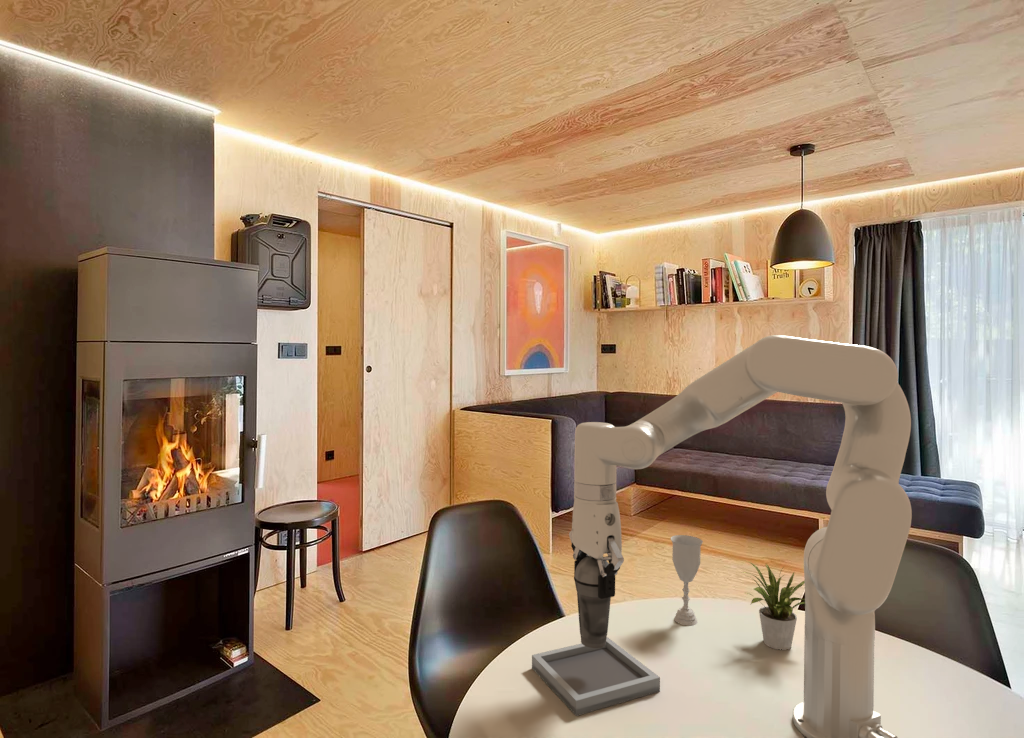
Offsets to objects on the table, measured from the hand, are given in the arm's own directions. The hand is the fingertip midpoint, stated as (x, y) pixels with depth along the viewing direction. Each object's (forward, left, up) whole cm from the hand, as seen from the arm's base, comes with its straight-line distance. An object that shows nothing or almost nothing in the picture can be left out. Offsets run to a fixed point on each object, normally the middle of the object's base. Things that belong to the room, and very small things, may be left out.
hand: (594, 588), depth 104 cm
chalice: (+12, -32, -17) cm, 38 cm away
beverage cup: (0, 0, -10) cm, 10 cm away
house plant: (-3, -41, -17) cm, 44 cm away
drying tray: (0, 0, -17) cm, 17 cm away
